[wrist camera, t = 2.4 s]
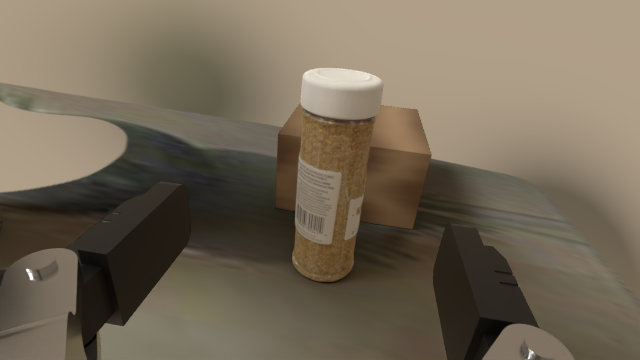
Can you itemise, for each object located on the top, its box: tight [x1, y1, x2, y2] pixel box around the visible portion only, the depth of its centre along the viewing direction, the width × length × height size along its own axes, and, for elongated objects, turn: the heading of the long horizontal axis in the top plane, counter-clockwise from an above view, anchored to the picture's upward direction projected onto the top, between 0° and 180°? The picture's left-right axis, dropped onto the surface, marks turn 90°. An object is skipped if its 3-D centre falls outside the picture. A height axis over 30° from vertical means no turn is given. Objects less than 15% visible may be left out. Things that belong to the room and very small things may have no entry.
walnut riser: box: [275, 102, 431, 229], centre depth 35 cm, size 12×12×7 cm
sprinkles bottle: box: [292, 68, 383, 282], centre depth 23 cm, size 5×5×13 cm
